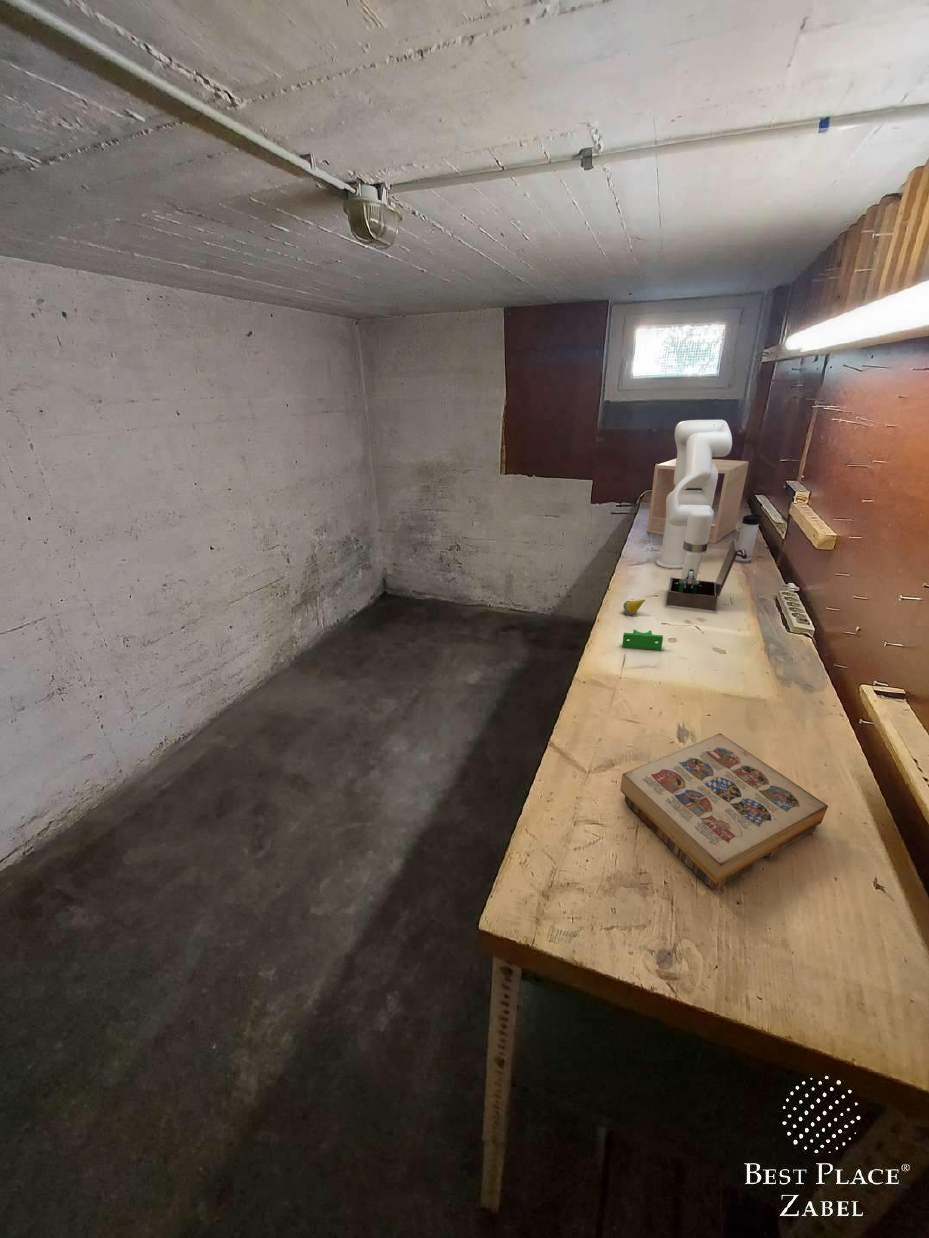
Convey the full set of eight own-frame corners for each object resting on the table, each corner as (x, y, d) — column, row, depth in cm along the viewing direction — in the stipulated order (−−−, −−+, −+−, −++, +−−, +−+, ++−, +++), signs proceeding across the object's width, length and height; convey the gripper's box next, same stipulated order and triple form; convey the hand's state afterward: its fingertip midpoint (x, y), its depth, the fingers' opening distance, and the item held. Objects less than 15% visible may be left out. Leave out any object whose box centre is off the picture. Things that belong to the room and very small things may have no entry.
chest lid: (735, 550, 155) (751, 554, 153) (733, 538, 167) (748, 541, 165) (716, 595, 163) (731, 599, 161) (715, 580, 175) (729, 584, 173)
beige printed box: (709, 745, 107) (609, 788, 97) (715, 722, 104) (612, 764, 94) (824, 827, 86) (712, 893, 76) (835, 801, 84) (720, 865, 73)
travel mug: (753, 563, 206) (763, 517, 198) (736, 563, 208) (746, 517, 199) (748, 558, 212) (758, 513, 203) (732, 558, 213) (741, 513, 205)
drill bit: (629, 610, 171) (651, 597, 164) (628, 622, 168) (650, 609, 160) (618, 602, 170) (639, 589, 162) (616, 614, 167) (639, 601, 159)
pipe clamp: (659, 644, 148) (662, 631, 146) (661, 650, 145) (663, 637, 143) (621, 641, 150) (623, 628, 148) (622, 647, 147) (623, 633, 145)
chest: (665, 606, 172) (668, 591, 169) (668, 591, 183) (670, 577, 181) (714, 612, 165) (717, 597, 163) (713, 596, 177) (716, 582, 175)
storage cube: (735, 529, 252) (749, 461, 237) (715, 543, 233) (729, 470, 218) (669, 520, 273) (678, 457, 258) (647, 532, 255) (655, 464, 240)
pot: (672, 601, 174) (675, 583, 171) (673, 594, 179) (676, 576, 176) (699, 604, 170) (702, 586, 167) (699, 597, 176) (703, 579, 173)
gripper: (684, 538, 174) (676, 584, 182) (682, 553, 160) (674, 602, 168) (707, 540, 172) (698, 587, 179) (707, 555, 158) (697, 605, 165)
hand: (687, 594), depth 174 cm, fingers closed on pot, 6 cm apart
